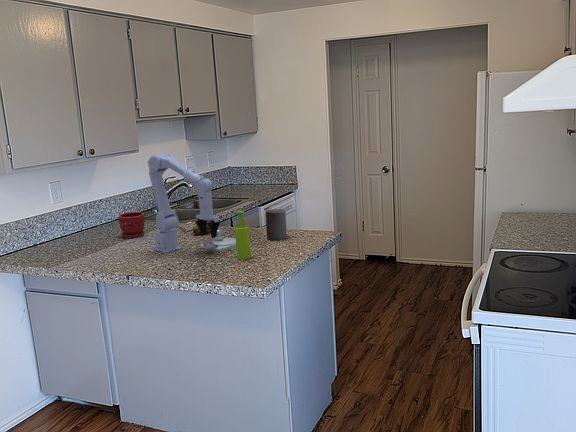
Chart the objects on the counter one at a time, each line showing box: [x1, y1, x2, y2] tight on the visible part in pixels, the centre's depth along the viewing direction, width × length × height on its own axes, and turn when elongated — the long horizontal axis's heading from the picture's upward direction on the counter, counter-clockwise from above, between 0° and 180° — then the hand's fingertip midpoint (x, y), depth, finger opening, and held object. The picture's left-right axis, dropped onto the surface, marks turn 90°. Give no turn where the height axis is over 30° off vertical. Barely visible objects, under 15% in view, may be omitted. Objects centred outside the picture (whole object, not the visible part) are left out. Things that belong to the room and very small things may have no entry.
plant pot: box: [118, 211, 146, 239], centre depth 291 cm, size 13×13×12 cm
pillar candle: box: [264, 208, 288, 242], centre depth 265 cm, size 10×10×15 cm
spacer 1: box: [204, 240, 216, 255], centre depth 247 cm, size 4×4×5 cm
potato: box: [192, 221, 211, 236], centre depth 288 cm, size 8×13×8 cm, turn 110°
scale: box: [198, 237, 237, 253], centre depth 259 cm, size 16×15×2 cm
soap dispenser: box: [232, 210, 252, 260], centre depth 234 cm, size 6×7×20 cm
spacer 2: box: [213, 228, 224, 241], centre depth 262 cm, size 4×4×5 cm
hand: (208, 236), depth 246 cm, fingers open, 7 cm apart
